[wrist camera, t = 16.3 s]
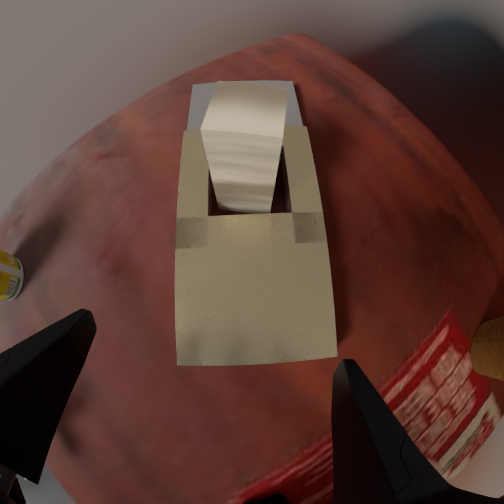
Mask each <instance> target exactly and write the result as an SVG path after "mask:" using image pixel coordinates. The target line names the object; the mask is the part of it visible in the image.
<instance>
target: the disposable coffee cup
mask: <svg viewBox="0 0 504 504" xmlns="http://www.w3.org/2000/svg"><path fill="white" fill-rule="evenodd" d="M471 363H472V366H473V369H474V370H475V372H476V373H478V374H481V375H485V376H488V377H492V378H495V379H499V380H502V381H504V316H502V317H499V318H496V319H493V320H490V321H487V322H484V323H483V324H481V325H480V326H479V328H478V329H477V331H476V333H475V335H474V338H473V341H472V346H471Z"/></svg>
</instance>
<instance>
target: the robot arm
mask: <svg viewBox="0 0 504 504" xmlns="http://www.w3.org/2000/svg"><path fill="white" fill-rule="evenodd" d="M96 329H97V328H96V324H95V321H94V318H93V315H92V312H91V311H89V310H86V309H80V310H78V311H76V312H74V313H72V314H70V315H68V316H67V317H65V318H63V319H61V320H59V321H57V322H56V323H54V324H52V325H50V326H48V327H46V328H45V329H43V330H41V331H39V332H37V333H36V334H34V335H32V336H30V337H29V338H27V339H25V340H23V341H22V342H20V343H18V344H16V345H15V346H13V347H12V348H9V349H8V350H6V351H4V352H2V353H0V504H25V503H26V501H25V499H24V496H23V493H22V490H21V488H20V485H19V482H18V479H17V478H16V474H18V475H20V476H22V477H24V478H26V479H27V480H29V481H31V482H34V483H35V484H38V483H39V480H40V477H41V473H42V470H43V467H44V464H45V460H46V457H47V454H48V451H49V448H50V445H51V442H52V439H53V437H54V434H55V431H56V429H57V426H58V423H59V421H60V418H61V416H62V413H63V411H64V408H65V406H66V404H67V401H68V399H69V397H70V394H71V392H72V390H73V387H74V385H75V383H76V381H77V379H78V376H79V374H80V372H81V370H82V368H83V366H84V363H85V361H86V358H87V355H88V352H89V350H90V347H91V344H92V342H93V339H94V336H95V334H96ZM331 423H332V443H333V504H504V495H503V496H501V497H500V498H492V497H488V496H483V495H479V494H476V493H472V492H468V491H465V490H461V489H458V488H456V487H454V486H452V485H451V484H449V483H448V482H447V481H446V480H445V479H444V478H443V477H442V476H441V475H440V474H439V473H438V471H437V470H436V469H435V468H434V467H433V466H432V465H431V464H430V462H429V461H428V460H427V459H426V458H425V457H424V455H423V454H422V453H421V452H420V450H419V449H418V448H417V446H416V445H415V444H414V442H413V441H412V440H411V438H410V437H409V435H408V434H406V431H405V430H404V428H403V427H402V425H401V424H400V423H399V421H398V420H397V418H396V417H395V416H394V414H393V413H392V411H391V410H390V409H389V407H388V406H387V404H386V403H385V402H384V400H383V399H382V397H381V396H380V395H379V393H378V392H377V390H376V389H375V388H374V386H373V385H372V384H371V382H370V381H369V379H368V378H367V377H366V375H365V374H364V373H363V371H362V370H361V368H360V367H359V366H358V364H357V363H356V362H355V361H354V360H353V359H342V360H341V362H340V363H339V365H338V367H337V369H336V371H335V372H334V375H333V391H332V410H331ZM277 498H281V499H277ZM250 504H290V502H289V501H288V500H287V499H286V497H285V496H284V495H283V494H276V495H273V496H271V497H268V498H266V499H263V500H260V501H256V502H253V503H250Z"/></svg>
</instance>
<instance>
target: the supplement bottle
mask: <svg viewBox="0 0 504 504" xmlns="http://www.w3.org/2000/svg"><path fill="white" fill-rule="evenodd" d="M23 279H24V272H23V267H22V264H21V262H20V260H19V259H18V258H17V257H15V256H13V255H11V254H9V253H6V252H4V251H2V250H0V299H4V300H13V299H15V298H16V297H17V296H18V294H19V293H20V291H21V288H22V285H23Z"/></svg>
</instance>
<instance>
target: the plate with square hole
mask: <svg viewBox="0 0 504 504" xmlns="http://www.w3.org/2000/svg"><path fill="white" fill-rule="evenodd" d="M233 82H247V83H258V84H267V85H276V86H283V87H288V96H287V105H286V114H285V124H284V133H283V140H282V146H281V152H280V158H279V160H281V165H282V173H283V181H284V189H285V198H286V207H287V213H266V214H243V215H223V216H212V178H211V174H210V170H209V165H208V161H207V157H206V152H205V148H204V144H203V139H202V135H201V130H200V129H201V126H202V123H203V120H204V117H205V114H206V112H207V109H208V106H209V103H210V101H211V98H212V95H213V93H214V90H215V88H216V85H217V83H205V84H196V85H193V88H192V95H191V102H190V110H189V118H188V126H187V131H184V135H183V144H182V153H181V164H180V175H179V188H178V202H177V220H176V246H175V324H176V350H177V365H189V366H223V365H252V364H269V363H282V362H294V361H304V360H313V359H321V358H328V357H336V356H337V340H336V324H335V311H334V299H333V289H332V279H331V269H330V261H329V253H328V245H327V237H326V230H325V223H324V216H323V210H322V204H321V198H320V192H319V186H318V180H317V175H316V170H315V164H314V159H313V154H312V149H311V144H310V140H309V135H308V131H307V126H303V124H302V119H301V115H300V111H299V106H298V102H297V98H296V94H295V90H294V86H293V82H292V81H233Z"/></svg>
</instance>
